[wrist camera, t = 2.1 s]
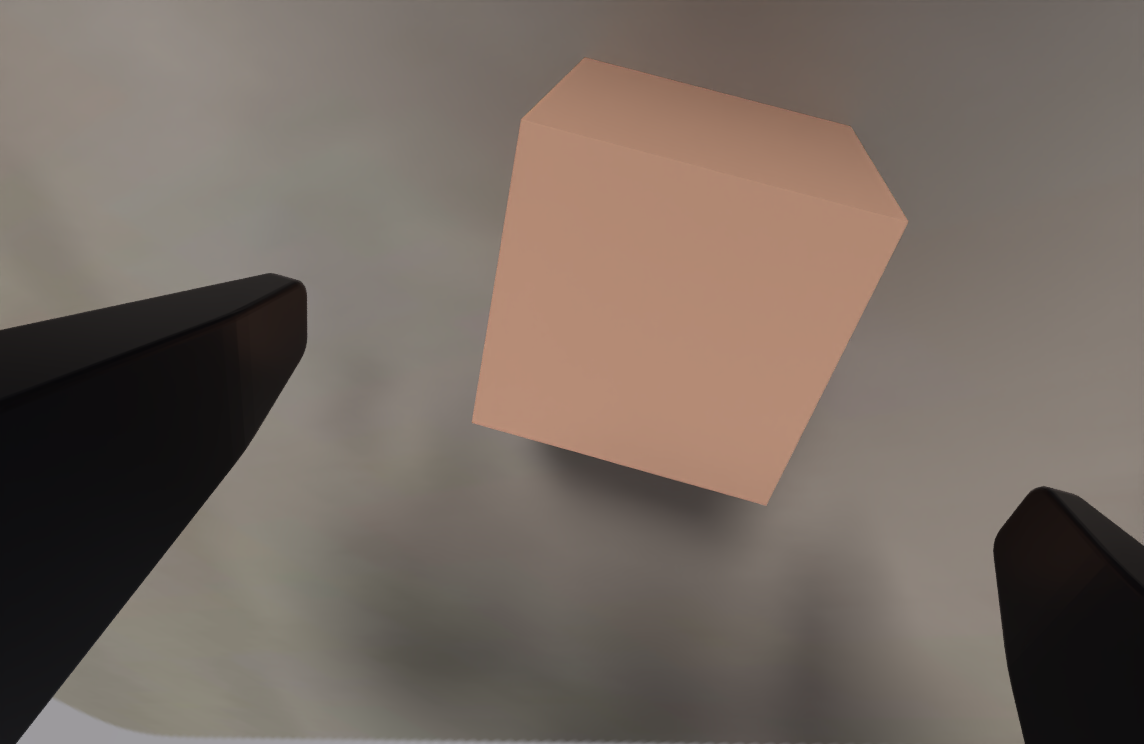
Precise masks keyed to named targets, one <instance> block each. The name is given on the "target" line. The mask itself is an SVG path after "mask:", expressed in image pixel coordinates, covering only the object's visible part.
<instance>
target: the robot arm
mask: <svg viewBox="0 0 1144 744" xmlns="http://www.w3.org/2000/svg"><path fill="white" fill-rule="evenodd" d="M306 344H307V292H306V288H305V286H304V285H303V283H302V282H301V281H299V280H296V279H292V278H289V277H285V276H281V275H278V274H273V273H267V274H262V275H258V276H253V277H248V278H244V279H239V280H234V281H229V282H225V283H220V284H215V285H211V286H206V287H201V288H196V289H192V290H187V291H182V292H178V293H173V294H168V295H163V296H159V297H154V298H149V299H145V300H140V301H135V302H130V303H126V304H121V305H116V306H112V307H107V308H102V309H97V310H93V311H88V312H83V313H78V314H74V315H69V316H64V317H60V318H55V319H50V320H45V321H41V322H36V323H31V324H27V325H22V326H17V327H12V328H8V329H3V330H0V744H16V743H17V742H18V740H19V739H20V738H21V737H22V735H23V734H24V733H25V732H26V730H27V729H28V728H29V726H30V725H31V724H32V723H33V721H34V720H35V719H36V718H37V716H38V715H39V714H40V712H41V711H42V710H43V709H44V707H45V706H46V705H47V703H48V702H49V701H50V700H51V698H52V697H53V696H54V695H55V693H56V692H57V691H58V689H59V688H60V687H61V686H62V684H63V683H64V682H65V680H66V679H67V678H68V677H69V675H70V674H71V673H72V672H73V670H74V669H75V668H76V666H77V665H78V664H79V663H80V661H81V660H82V659H83V657H84V656H85V655H86V654H87V652H88V651H89V650H90V649H91V647H92V646H93V645H94V643H95V642H96V641H97V640H98V638H99V637H100V636H101V635H102V633H103V632H104V631H105V629H106V628H107V627H108V626H109V624H110V623H111V622H112V620H113V619H114V618H115V617H116V615H117V614H118V613H119V612H120V610H121V609H122V608H123V606H124V605H125V604H126V603H127V601H128V600H129V599H130V597H131V596H132V595H133V594H134V592H135V591H136V590H137V589H138V587H139V586H140V585H141V583H142V582H143V581H144V580H145V578H146V577H147V576H148V574H149V573H150V572H151V571H152V569H153V568H154V567H155V566H156V564H157V563H158V562H159V560H160V559H161V558H162V557H163V555H164V554H165V553H166V552H167V550H168V549H169V548H170V546H171V545H172V544H173V543H174V541H175V540H176V539H177V537H178V536H179V535H180V534H181V532H182V531H183V530H184V529H185V527H186V526H187V525H188V523H189V522H190V521H191V520H192V518H193V517H194V516H195V514H196V513H197V512H198V511H199V509H200V508H201V507H202V506H203V504H204V503H205V502H206V500H207V499H208V498H209V497H210V495H211V494H212V493H213V491H214V490H215V489H216V488H217V486H218V485H219V484H220V483H221V481H222V480H223V479H224V477H225V476H226V475H227V474H228V472H229V471H230V470H231V469H232V467H233V466H234V465H235V463H236V462H237V461H238V459H239V458H240V457H241V455H242V454H243V453H244V451H245V450H246V448H247V447H248V445H249V444H250V442H251V441H252V439H253V438H254V436H255V434H256V433H257V431H258V430H259V428H260V426H261V425H262V423H263V421H264V420H265V418H266V416H267V415H268V413H269V411H270V410H271V408H272V406H273V405H274V403H275V401H276V400H277V398H278V396H279V395H280V393H281V391H282V390H283V388H284V387H285V385H286V383H287V382H288V380H289V378H290V377H291V375H292V373H293V372H294V370H295V368H296V367H297V365H298V363H299V362H300V360H301V358H302V356H303V354H304V352H305V348H306ZM993 554H994V563H995V571H996V579H997V588H998V596H999V605H1000V613H1001V621H1002V630H1003V638H1004V647H1005V654H1006V660H1007V667H1008V672H1009V677H1010V682H1011V686H1012V691H1013V695H1014V700H1015V704H1016V708H1017V712H1018V717H1019V721H1020V725H1021V729H1022V734H1023V738H1024V742H1025V744H1144V546H1143V545H1142V544H1141V543H1139V542H1138V541H1137V540H1135V539H1134V538H1133V537H1132V536H1130V535H1129V534H1128V533H1126V532H1125V531H1124V530H1122V529H1121V528H1120V527H1119V526H1117V525H1116V524H1115V523H1113V522H1112V521H1111V520H1109V519H1108V518H1107V517H1105V516H1104V515H1103V514H1102V513H1100V512H1099V511H1098V510H1096V509H1095V508H1094V507H1092V506H1091V505H1090V504H1089V503H1087V502H1086V501H1085V500H1083V499H1082V498H1080V497H1079V496H1077V495H1074V494H1072V493H1068V492H1064V491H1061V490H1057V489H1053V488H1050V487H1045V486H1042V487H1037V488H1035V489H1033V490H1032V491H1030V493H1029V494H1028V495H1027V496H1026V497H1025V498H1024V500H1023V501H1022V502H1021V504H1020V505H1019V506H1018V507H1017V509H1016V510H1015V511H1014V512H1013V514H1012V515H1011V516H1010V518H1009V519H1008V520H1007V521H1006V523H1005V524H1004V525H1003V527H1002V528H1001V529H1000V530H999V532H998V534H997V536H996V538H995V542H994V549H993Z"/></svg>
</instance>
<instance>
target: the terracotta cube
mask: <svg viewBox="0 0 1144 744" xmlns="http://www.w3.org/2000/svg"><path fill="white" fill-rule="evenodd" d="M907 224H908V220H907V218H906V217H905V215H904V214H903V212H902V210H901V209H900V207H899V205H898V204H897V202H896V200H895V199H894V197H893V195H892V194H891V192H890V190H889V189H888V187H887V185H886V184H885V182H884V181H883V179H882V177H881V176H880V174H879V172H878V171H877V169H876V167H875V166H874V164H873V162H872V161H871V159H870V157H869V156H868V154H867V152H866V151H865V149H864V147H863V146H862V144H861V143H860V141H859V139H858V138H857V136H856V134H855V133H854V131H853V129H852V128H851V126H847V125H844V124H840V123H836V122H832V121H828V120H824V119H820V118H817V117H813V116H809V115H805V114H801V113H797V112H793V111H790V110H786V109H782V108H778V107H774V106H770V105H767V104H763V103H759V102H755V101H751V100H747V99H743V98H740V97H736V96H732V95H728V94H724V93H720V92H716V91H713V90H709V89H705V88H701V87H697V86H693V85H690V84H686V83H682V82H678V81H674V80H670V79H666V78H663V77H659V76H655V75H651V74H647V73H643V72H639V71H636V70H632V69H628V68H624V67H620V66H616V65H613V64H609V63H605V62H601V61H597V60H593V59H589V58H586V57H584V58H583V59H582V60H581V61H580V62H579V63H578V64H577V65H576V66H575V67H574V68H573V69H572V70H571V71H570V72H569V73H568V74H567V75H566V76H565V77H564V78H563V79H562V80H561V81H560V82H559V83H558V84H557V85H556V86H555V87H554V88H553V89H552V90H551V91H550V92H549V93H548V94H547V95H546V96H545V97H543V98H542V99H541V100H540V101H539V102H538V103H537V104H536V105H535V106H534V107H533V108H532V109H531V110H530V111H529V112H528V113H527V114H526V115H525V116H524V117H523V118H522V119H521V123H520V129H519V135H518V142H517V148H516V154H515V160H514V166H513V172H512V179H511V185H510V191H509V197H508V203H507V209H506V215H505V222H504V228H503V234H502V240H501V246H500V252H499V259H498V265H497V271H496V277H495V283H494V289H493V296H492V302H491V308H490V314H489V320H488V326H487V333H486V339H485V345H484V351H483V357H482V363H481V370H480V376H479V382H478V388H477V394H476V400H475V407H474V413H473V419H472V423H474V424H478V425H482V426H485V427H489V428H492V429H496V430H499V431H503V432H506V433H510V434H513V435H517V436H521V437H524V438H528V439H531V440H535V441H538V442H542V443H545V444H549V445H553V446H556V447H560V448H563V449H567V450H570V451H574V452H577V453H581V454H584V455H588V456H592V457H595V458H599V459H602V460H606V461H609V462H613V463H616V464H620V465H623V466H627V467H631V468H634V469H638V470H641V471H645V472H648V473H652V474H655V475H659V476H663V477H666V478H670V479H673V480H677V481H680V482H684V483H687V484H691V485H694V486H698V487H702V488H705V489H709V490H712V491H716V492H719V493H723V494H726V495H730V496H734V497H737V498H741V499H744V500H748V501H751V502H755V503H758V504H762V505H765V506H766V505H767V503H768V501H769V499H770V497H771V495H772V493H773V491H774V489H775V487H776V485H777V483H778V481H779V479H780V477H781V475H782V473H783V471H784V469H785V467H786V465H787V463H788V461H789V459H790V457H791V455H792V453H793V451H794V449H795V447H796V445H797V443H798V441H799V439H800V437H801V435H802V433H803V431H804V429H805V427H806V425H807V423H808V421H809V419H810V417H811V415H812V413H813V411H814V409H815V407H816V405H817V403H818V401H819V399H820V397H821V395H822V393H823V391H824V389H825V387H826V385H827V383H828V381H829V379H830V377H831V375H832V373H833V371H834V369H835V367H836V365H837V363H838V361H839V359H840V357H841V355H842V353H843V351H844V349H845V347H846V345H847V343H848V341H849V339H850V337H851V335H852V333H853V331H854V329H855V327H856V325H857V323H858V321H859V319H860V317H861V315H862V313H863V311H864V309H865V307H866V305H867V303H868V301H869V300H870V298H871V296H872V294H873V292H874V290H875V288H876V286H877V284H878V282H879V280H880V278H881V276H882V274H883V272H884V270H885V268H886V266H887V264H888V262H889V260H890V258H891V256H892V254H893V252H894V250H895V248H896V246H897V244H898V242H899V240H900V238H901V236H902V234H903V232H904V230H905V228H906V226H907Z"/></svg>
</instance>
